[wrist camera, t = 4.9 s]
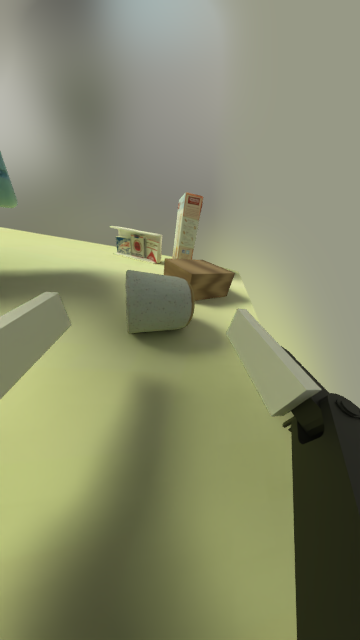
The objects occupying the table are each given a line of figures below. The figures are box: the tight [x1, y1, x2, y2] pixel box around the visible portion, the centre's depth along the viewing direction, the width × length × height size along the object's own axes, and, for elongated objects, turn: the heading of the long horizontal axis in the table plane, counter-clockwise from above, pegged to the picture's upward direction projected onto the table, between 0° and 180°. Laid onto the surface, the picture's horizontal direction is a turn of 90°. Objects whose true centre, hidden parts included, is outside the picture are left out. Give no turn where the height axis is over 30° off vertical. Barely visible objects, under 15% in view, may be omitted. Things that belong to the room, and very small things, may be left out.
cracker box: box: [173, 193, 203, 260], centre depth 49 cm, size 14×6×21 cm, turn 8°
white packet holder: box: [110, 226, 162, 264], centre depth 51 cm, size 20×6×9 cm, turn 70°
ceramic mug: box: [126, 270, 195, 333], centre depth 19 cm, size 11×8×8 cm
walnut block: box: [164, 258, 235, 301], centre depth 33 cm, size 12×12×6 cm
